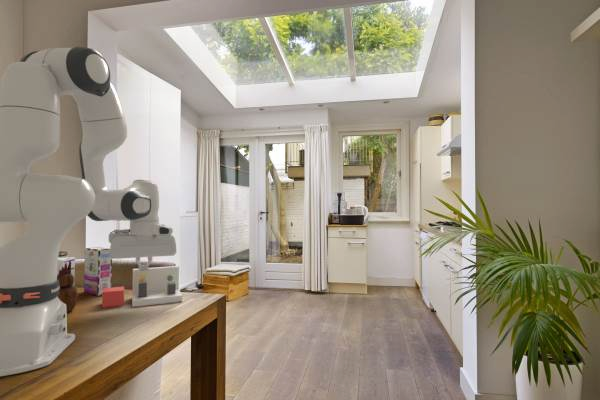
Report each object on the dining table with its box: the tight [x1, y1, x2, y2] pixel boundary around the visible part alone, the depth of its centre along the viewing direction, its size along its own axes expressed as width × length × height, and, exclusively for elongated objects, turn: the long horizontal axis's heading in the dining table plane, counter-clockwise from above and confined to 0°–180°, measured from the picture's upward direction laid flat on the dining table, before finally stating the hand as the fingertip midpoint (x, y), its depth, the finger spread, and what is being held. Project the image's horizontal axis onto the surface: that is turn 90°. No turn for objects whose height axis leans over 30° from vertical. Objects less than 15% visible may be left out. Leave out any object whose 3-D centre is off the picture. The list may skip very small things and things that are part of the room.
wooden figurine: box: [57, 261, 79, 313], centre depth 103 cm, size 7×6×15 cm
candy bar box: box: [83, 246, 113, 297], centre depth 125 cm, size 11×5×16 cm, turn 55°
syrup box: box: [57, 256, 76, 286], centre depth 114 cm, size 6×6×14 cm
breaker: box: [138, 282, 147, 298], centre depth 113 cm, size 2×2×5 cm
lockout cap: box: [101, 286, 125, 308], centre depth 111 cm, size 6×6×5 cm
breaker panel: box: [131, 265, 183, 308], centre depth 117 cm, size 12×15×10 cm
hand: (143, 270), depth 114 cm, fingers closed
